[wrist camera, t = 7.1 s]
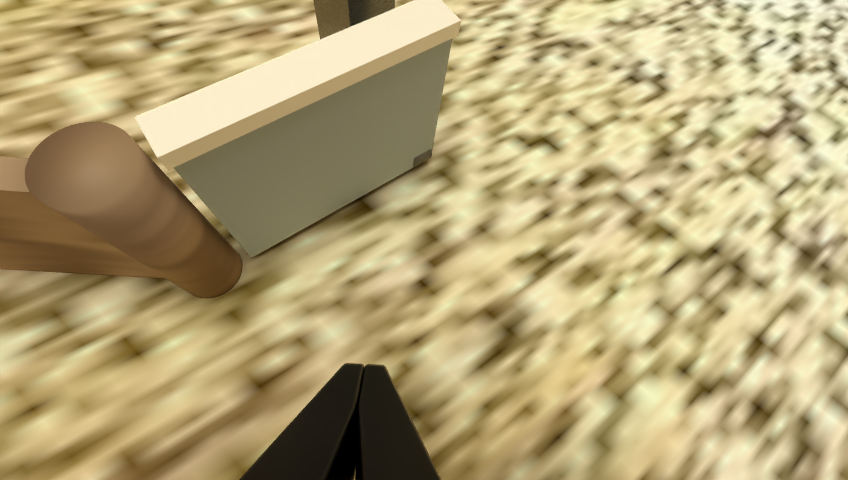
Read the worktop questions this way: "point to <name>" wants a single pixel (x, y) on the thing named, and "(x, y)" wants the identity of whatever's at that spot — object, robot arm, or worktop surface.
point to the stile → (347, 13)
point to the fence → (107, 214)
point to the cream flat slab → (311, 124)
